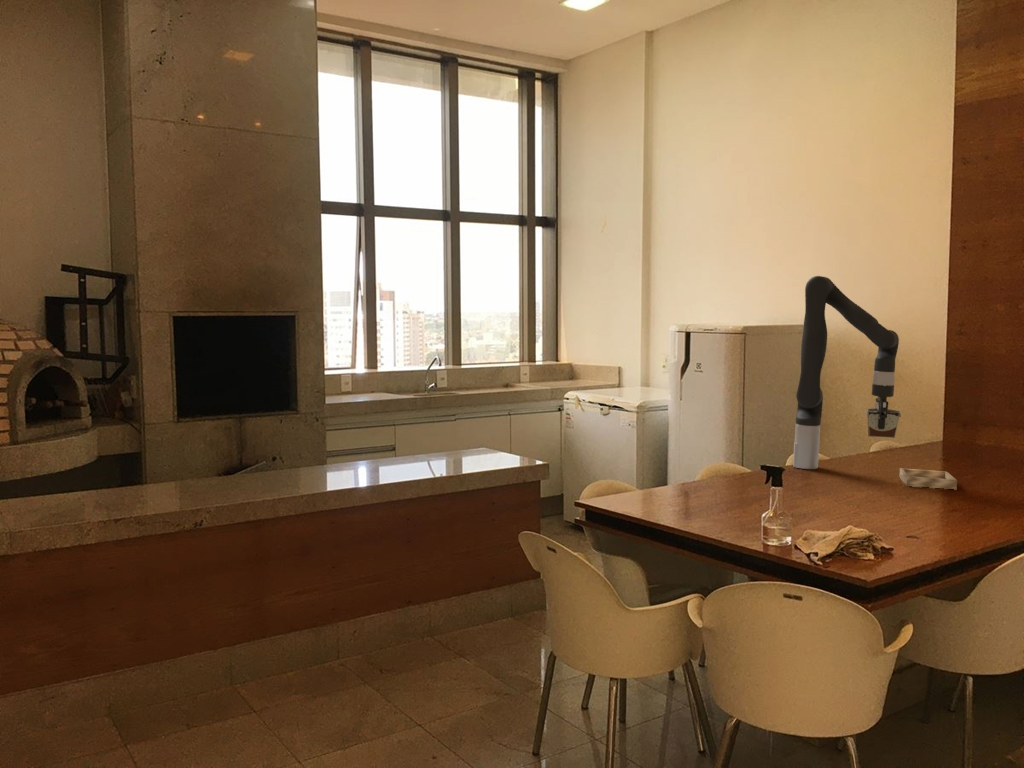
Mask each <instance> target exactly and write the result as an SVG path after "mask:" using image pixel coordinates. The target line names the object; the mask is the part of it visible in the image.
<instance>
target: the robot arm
mask: <svg viewBox="0 0 1024 768" xmlns="http://www.w3.org/2000/svg"><path fill="white" fill-rule="evenodd" d="M805 284H806V285H805V286H804V287H805V289H804V293H805V294H804V295H805V296H804V297H805V299H804V300H805V301H804V302H805V303H804V304H805V307H804V308H805V312H804V320H803V328H802V335H801V336H802V337H801V347H800V348H801V349H800V375H799V380H798V386H797V390H796V395H795V397H796V401H797V409H796V417H795V427H794V428H795V430H794V442H793V455H792V456H793V458H792V465H793V468H798V469H803V470H816V469H819V457H820V456H819V455H820V441H821V440H820V437H821V421H822V420H821V419H822V415H823V414H822V413H823V412H822V411H823V399H824V398H823V397H824V396H823V395H824V393H823V390H822V389H821V374H822V369H823V366H824V362H825V358H826V357H825V356H826V353H827V344H828V329H827V326H828V325H827V322H826V321H827V320H826V304H827V305H829V306H831V307H832V308H833V309H834V310H836V311H837V312H838V313H839V314H840V315H841V316H842V317H843V318H844V319H845V320H846V321H847V323H849V324H851V325H852V327H854V328H855V329H857V330H858V331H859V332H861V334H864V335H865V336H866V338H867V339H868V340H870V341H871V343H873V344H874V345H875V346H876V347H878V348H877V349H878V350H877V355H876V357H875V359H874V367H873V375H872V383H871V395H872V396H874V397H876V398H875V403H874V404H875V406H874V407H875V408H874V409H876V410H877V412H878V413H879V416H878V418H879V420H878V428H879V429H885V419H886V418H887V412H888V409H889V401H888V398H892V397H894V394H895V384H896V383H895V382H896V381H895V379H896V376H895V373H896V371H895V370H896V358H897V353H898V350H899V344H900V342H899V341H900V339H899V335H898V333H897V332H896V331H894V330H892V329H887V327H884V326H883V325H882V324H881V323H879V321H878V320H877V318H875V317H874V316H873V315H872V314H870V313H869V312H868V311H866V310H865V309H863V308H862V307H861V306H860V305H858V304H857V303H855V302H854V301H852V300H851V299H850V298H849V297H848V296H847V295H845V294H844V293H843V291H842V290H841V289H840V288H838V286H837V285H836V284H835V282H833V281H832V280H831V279H830V278H829V277H827V276H823V275H821V276H820V275H815V276H812V277H811V278H809V279H808V281H807V282H806V283H805ZM881 413H884V415H881Z"/></svg>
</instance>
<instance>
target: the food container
mask: <svg viewBox="0 0 1024 768" xmlns="http://www.w3.org/2000/svg"><path fill="white" fill-rule="evenodd" d="M900 411H901V410H896V409H889V408H888V412H887V418H886V419H885V429H879V428H878V420H879V418H878V416H879V413H878V412H877V410H876V409H875V408H867V410H866V413H865V416H867V436H868V437H870V438H871V437H872V438H873V437H874V438H888V439H889V438H890V439H891V438H892V439H895V438H896V434H897V430H898V425H899V424H898V423H899V420H900V419H899V418H901V417H902V415H901V413H900ZM881 415H884V413H881Z"/></svg>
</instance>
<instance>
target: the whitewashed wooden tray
mask: <svg viewBox="0 0 1024 768" xmlns="http://www.w3.org/2000/svg"><path fill="white" fill-rule="evenodd" d="M899 477H900V478H899V479H900V480H901V481H902V482H903V484H905V486H906V487H909V486H912V487H911V488H922V487H929V488H928V489H935V488H944V489H943V490H948V489H954V490H953V491H957V489H958V487H957V486H958V480H957V479H956V478H955V477H954V476H953V475H951V474H950V473H949V472H948V471H942V470H928V469H913V468H901V467H900V468H899Z"/></svg>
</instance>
